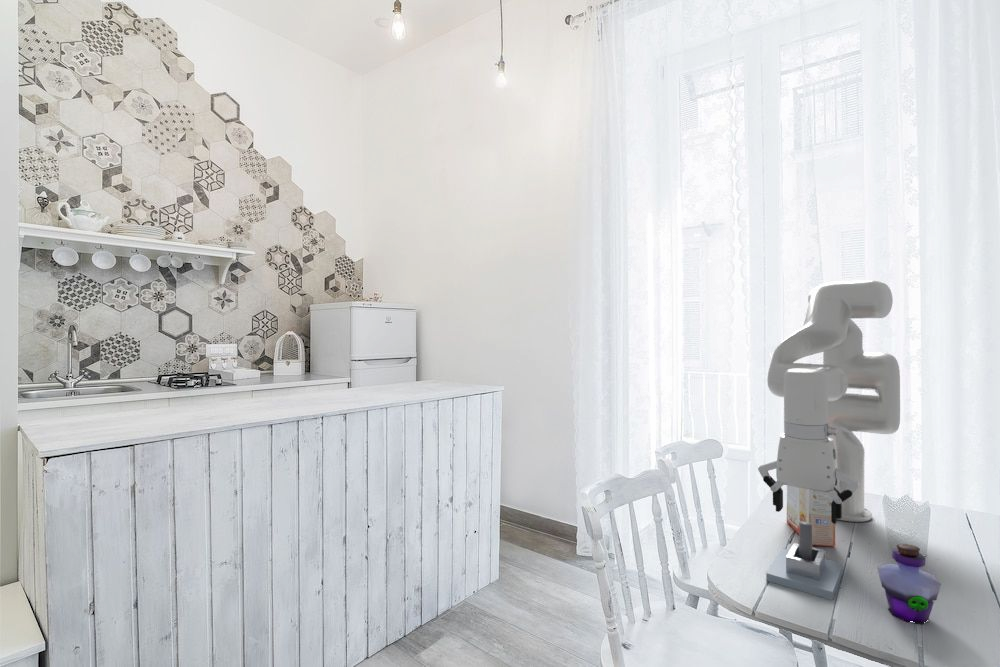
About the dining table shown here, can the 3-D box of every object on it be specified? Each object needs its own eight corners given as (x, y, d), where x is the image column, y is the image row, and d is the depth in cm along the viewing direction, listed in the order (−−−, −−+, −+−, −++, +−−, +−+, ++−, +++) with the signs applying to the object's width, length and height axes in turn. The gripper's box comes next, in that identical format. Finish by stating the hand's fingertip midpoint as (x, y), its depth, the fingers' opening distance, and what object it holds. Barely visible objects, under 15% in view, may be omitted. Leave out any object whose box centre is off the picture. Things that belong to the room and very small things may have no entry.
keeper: (782, 555, 110) (782, 507, 110) (843, 570, 103) (843, 519, 103) (766, 580, 99) (766, 527, 99) (832, 600, 92) (832, 543, 92)
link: (793, 557, 106) (793, 542, 106) (825, 564, 102) (825, 550, 102) (786, 571, 100) (786, 556, 100) (819, 580, 96) (819, 565, 96)
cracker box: (837, 548, 113) (837, 455, 113) (807, 546, 114) (807, 454, 114) (812, 523, 127) (812, 440, 126) (785, 521, 128) (785, 439, 127)
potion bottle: (905, 631, 83) (905, 559, 83) (864, 602, 92) (865, 536, 91) (955, 628, 83) (956, 556, 83) (910, 600, 92) (910, 534, 92)
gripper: (861, 432, 98) (861, 519, 98) (762, 422, 109) (763, 500, 110) (856, 441, 92) (856, 533, 93) (753, 429, 103) (754, 511, 104)
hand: (806, 515), depth 101 cm, fingers open, 9 cm apart
